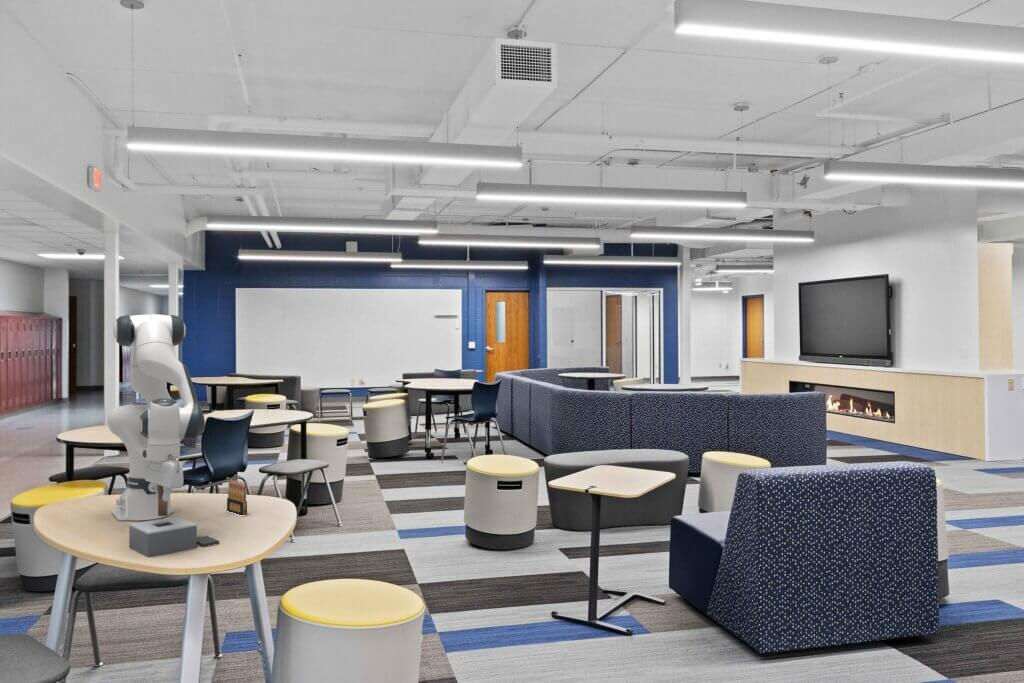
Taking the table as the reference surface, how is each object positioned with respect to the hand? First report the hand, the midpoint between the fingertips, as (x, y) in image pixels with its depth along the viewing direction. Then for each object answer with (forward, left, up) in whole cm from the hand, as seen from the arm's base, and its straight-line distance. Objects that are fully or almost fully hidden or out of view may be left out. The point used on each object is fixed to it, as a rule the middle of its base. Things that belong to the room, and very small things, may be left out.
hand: (163, 499), depth 223 cm
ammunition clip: (-25, +36, -15) cm, 46 cm away
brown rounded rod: (0, 0, -5) cm, 5 cm away
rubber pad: (+4, +11, -14) cm, 19 cm away
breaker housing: (0, 0, -14) cm, 14 cm away
